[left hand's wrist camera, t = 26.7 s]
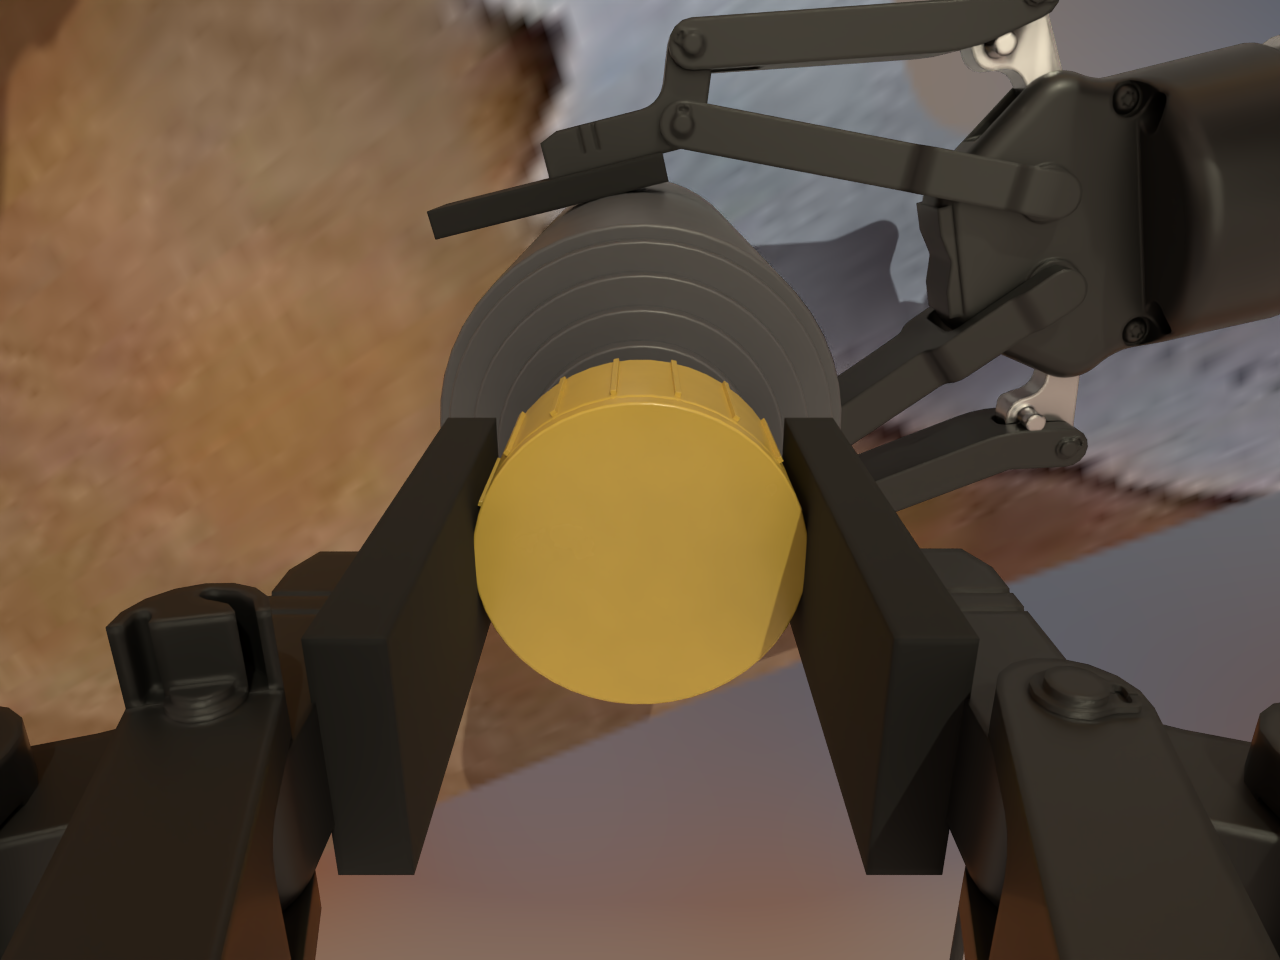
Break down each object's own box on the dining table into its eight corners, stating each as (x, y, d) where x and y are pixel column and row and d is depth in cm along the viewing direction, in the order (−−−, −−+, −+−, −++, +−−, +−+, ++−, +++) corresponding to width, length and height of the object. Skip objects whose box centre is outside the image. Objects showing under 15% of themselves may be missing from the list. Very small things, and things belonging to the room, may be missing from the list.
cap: (595, 294, 13) (587, 326, 11) (846, 458, 14) (884, 519, 12) (442, 533, 15) (407, 605, 12) (679, 669, 16) (685, 758, 13)
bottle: (727, 412, 34) (841, 783, 15) (520, 381, 34) (359, 721, 14) (769, 197, 31) (979, 309, 12) (544, 160, 31) (384, 214, 11)
